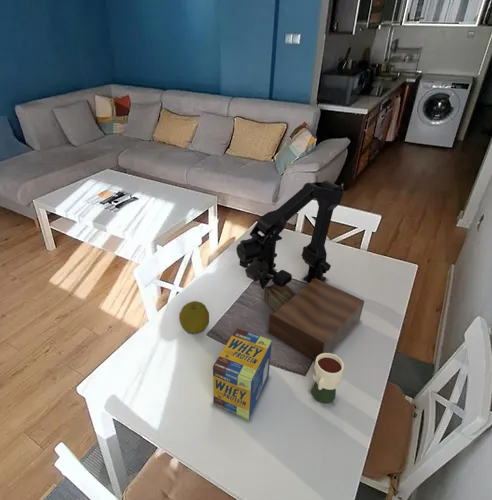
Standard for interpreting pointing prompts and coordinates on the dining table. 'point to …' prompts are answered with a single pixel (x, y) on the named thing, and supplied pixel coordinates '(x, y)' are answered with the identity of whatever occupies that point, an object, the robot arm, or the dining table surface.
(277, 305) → the beverage carton
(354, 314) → the walnut wood chunk
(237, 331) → the protein box
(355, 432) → the dining table surface
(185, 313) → the apple
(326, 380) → the character mug
